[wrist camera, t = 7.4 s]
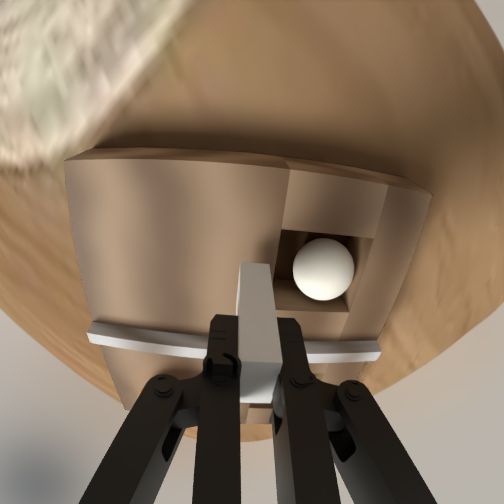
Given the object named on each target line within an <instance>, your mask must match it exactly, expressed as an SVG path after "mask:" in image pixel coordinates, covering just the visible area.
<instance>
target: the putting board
mask: <svg viewBox="0 0 504 504" xmlns="http://www.w3.org/2000/svg"><path fill="white" fill-rule="evenodd" d="M64 166H65V179H66V190H67V199H68V207H69V215H70V222H71V228H72V234H73V240H74V246H75V251H76V256H77V261H78V266H79V270H80V275H81V279H82V284H83V288H84V292H85V296H86V300H87V303H88V307H89V311H90V314H91V318H92V321H93V322H92V324H91V326H90V327H89V329H88V331H87V335H88V338H89V341H90V343H95V344H100V346H101V349H102V352H103V355H104V358H105V361H106V364H107V366H108V369H109V372H110V374H111V377H112V380H113V382H114V385H115V387H116V390H117V392H118V394H119V397H120V399H121V402H122V404H123V406H124V408H125V410H129V411H130V410H131V409H132V407H133V405H134V403H135V402H136V400H137V398H138V395H139V392H140V390H141V389H142V388H143V387H144V386H145V384H146V383H147V382H148V380H149V379H150V378H152V377H154V376H156V375H160V374H167V375H172V376H174V377H175V378H177V379H178V380H183V379H189V378H193V377H195V376H197V375H199V374H200V373H201V372H202V371H203V360H204V358H205V356H206V354H207V346H208V337H209V329H210V321H211V320H212V319H213V317H214V316H215V315H216V314H223V315H236V300H237V290H238V280H239V270H240V262H249V263H261V264H269V266H270V273H271V280H272V287H273V294H274V302H275V309H276V316H277V317H282V318H295V319H296V321H297V322H298V323H299V325H300V326H301V330H302V336H303V339H304V344H305V349H306V353H307V358H308V363H309V368H310V370H311V372H312V373H313V374H314V375H315V376H316V378H317V379H319V380H321V381H323V382H326V383H330V384H334V385H338V386H339V385H340V384H341V383H342V382H344V381H346V380H356V378H357V376H358V375H359V373H360V371H361V369H362V367H363V366H364V364H365V362H366V361H377V359H378V357H379V356H380V354H381V352H382V351H381V349H380V347H379V345H378V342H377V339H378V337H379V335H380V333H381V330H382V328H383V326H384V324H385V322H386V320H387V318H388V316H389V313H390V311H391V309H392V307H393V304H394V302H395V300H396V298H397V295H398V293H399V290H400V288H401V286H402V283H403V281H404V278H405V276H406V273H407V271H408V268H409V265H410V263H411V260H412V257H413V255H414V252H415V249H416V246H417V244H418V241H419V238H420V235H421V232H422V229H423V226H424V222H425V219H426V216H427V213H428V209H429V206H430V203H431V199H432V196H433V195H432V194H431V193H429V192H428V191H426V190H425V189H423V188H421V187H420V186H418V185H417V184H415V183H413V182H412V181H410V180H408V179H407V178H404V177H400V176H395V175H390V174H386V173H381V172H376V171H371V170H366V169H361V168H355V167H350V166H344V165H338V164H332V163H326V162H320V161H313V160H306V159H299V158H291V157H283V156H274V155H265V154H256V153H245V152H233V151H220V150H204V149H184V148H93V149H89V150H87V151H85V152H82V153H80V154H78V155H75V156H73V157H71V158H69V159H67V160H64ZM281 229H286V230H297V231H307V232H317V233H327V234H337V235H347V236H349V240H348V243H347V247H346V248H347V250H348V251H349V253H350V254H351V257H352V259H353V263H354V276H353V279H352V282H351V284H350V286H349V287H348V288H347V290H346V291H345V292H344V293H343V294H341V295H340V296H338V297H336V298H334V299H330V300H316V299H313V298H310V297H309V296H307V295H305V294H304V293H303V292H302V291H301V290H300V289H299V287H298V286H297V284H296V282H295V280H282V279H273V276H274V270H275V264H276V259H277V253H278V246H279V240H280V234H281ZM272 409H273V398H272V401H271V403H241V402H240V424H272V422H271V423H269V418H270V415H271V412H272Z"/></svg>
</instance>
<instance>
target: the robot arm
mask: <svg viewBox="0 0 504 504" xmlns="http://www.w3.org/2000/svg"><path fill="white" fill-rule="evenodd" d="M272 398H273V409H272V412H271V415H270V418H269V423H271V422H272V431H273V444H274V458H275V471H276V486H277V501H278V504H341V501H340V495H339V489H338V484H337V478H336V472H335V467H334V463H335V465H336V467H337V469H338V471H339V473H340V475H341V477H342V479H343V481H344V483H345V485H346V488H347V489H348V492H349V494H350V495H351V498H352V500H353V502H354V504H437V502H436V501H435V499H434V497H433V495H432V494H431V492H430V490H429V489H428V487H427V485H426V483H425V482H424V480H423V478H422V477H421V475H420V473H419V471H418V470H417V468H416V466H415V465H414V463H413V461H412V460H411V458H410V457H409V455H408V453H407V451H406V450H405V448H404V446H403V445H402V443H401V441H400V440H399V438H398V437H397V435H396V433H395V432H394V430H393V429H392V427H391V425H390V423H389V422H388V420H387V419H386V417H385V415H384V414H383V412H382V411H381V409H380V407H379V406H378V404H377V402H376V401H375V399H374V398H373V396H372V394H371V393H370V391H369V390H368V388H367V387H366V386H365V385H364V384H363V383H361V382H359V381H356V380H346V381H344V382H342V383H341V384H340V385H339V386H338V385H334V384H330V383H326V382H323V381H321V380H319V379H317V378H316V376H315V375H314V374H313V373H312V372H311V370H310V368H309V363H308V358H307V353H306V349H305V344H304V339H303V336H302V330H301V326H300V325H299V323H298V322H297V321H296V319H295V318H282V317H277V316H276V309H275V302H274V294H273V287H272V280H271V273H270V266H269V264H261V263H249V262H240V270H239V280H238V290H237V300H236V315H223V314H216V315H215V316H214V317H213V319H212V320H211V321H210V329H209V337H208V346H207V354H206V356H205V358H204V360H203V371H202V372H201V373H200V374H199V375H197V376H195V377H193V378H189V379H183V380H178V379H177V378H175V377H174V376H172V375H167V374H160V375H156V376H154V377H152V378H150V379H149V380H148V382H147V383H146V384H145V386H144V388H143V390H142V391H141V393H140V395H139V396H138V398H137V400H136V402H135V403H134V405H133V407H132V409H131V410H130V412H129V414H128V416H127V417H126V419H125V421H124V422H123V424H122V426H121V428H120V430H119V431H118V433H117V435H116V437H115V438H114V440H113V442H112V444H111V446H110V447H109V449H108V451H107V453H106V454H105V456H104V458H103V460H102V462H101V463H100V465H99V467H98V469H97V471H96V472H95V474H94V476H93V478H92V480H91V482H90V483H89V485H88V487H87V489H86V491H85V493H84V495H83V496H82V498H81V500H80V502H79V504H153V503H154V501H155V499H156V496H157V494H158V491H159V489H160V487H161V484H162V482H163V480H164V478H165V475H166V473H167V471H168V469H169V466H170V464H171V461H172V459H173V457H174V455H175V452H176V450H177V448H178V445H179V443H180V441H181V438H182V436H183V434H184V431H185V429H186V428H189V427H194V426H198V431H197V443H196V455H195V468H194V482H193V497H192V504H241V465H240V464H241V463H240V402H241V403H271V401H272Z"/></svg>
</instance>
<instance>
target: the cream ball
mask: <svg viewBox="0 0 504 504" xmlns="http://www.w3.org/2000/svg"><path fill="white" fill-rule="evenodd" d="M293 276H294V280H295V282H296V284H297V286H298V287H299V289H300V290H301V291H302V292H303V293H304V294H305V295H307V296H309V297H310V298H313V299H316V300H330V299H334V298H336V297H338V296H340V295H341V294H343V293H344V292H345V291H346V290H347V288H348V287H349V286H350V284H351V282H352V279H353V276H354V263H353V259H352V257H351V254H350V253H349V251H348V250H347V248H346V247H345V246H343V245H342V244H341V243H339V242H337V241H335V240H333V239H328V238H319V239H315V240H312V241H310V242H308V243H306V244H305V245H304V246H303V247H302V248H301V249H300V250H299V251H298V253H297V255H296V257H295V259H294V263H293Z"/></svg>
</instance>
